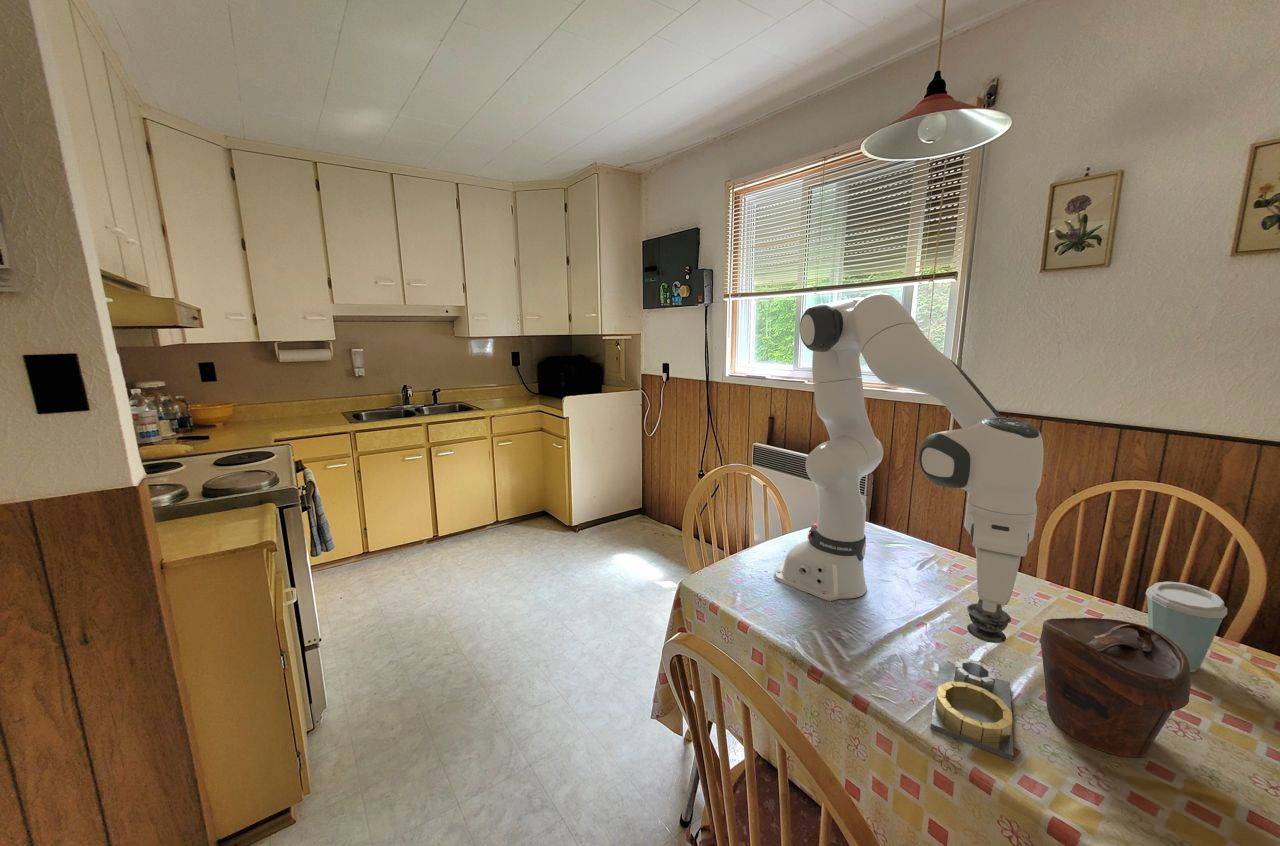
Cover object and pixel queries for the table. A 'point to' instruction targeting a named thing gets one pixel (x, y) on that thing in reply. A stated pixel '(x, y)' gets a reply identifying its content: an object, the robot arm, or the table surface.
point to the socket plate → (974, 707)
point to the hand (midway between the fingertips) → (988, 602)
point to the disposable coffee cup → (1185, 617)
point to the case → (1112, 682)
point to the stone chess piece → (987, 623)
